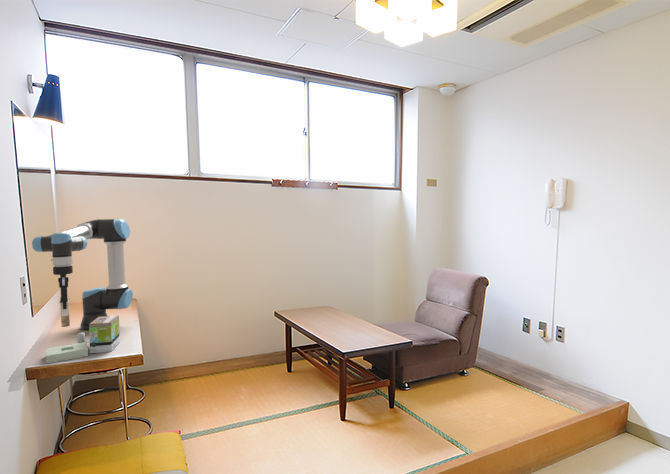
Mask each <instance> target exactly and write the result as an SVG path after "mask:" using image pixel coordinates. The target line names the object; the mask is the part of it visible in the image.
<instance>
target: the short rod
mask: <svg viewBox="0 0 670 474" xmlns="http://www.w3.org/2000/svg"><path fill="white" fill-rule="evenodd" d="M76 337H77V343H83V342H86V332H83V331H82V332H78V333H77V336H76Z"/></svg>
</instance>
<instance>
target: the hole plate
mask: <svg viewBox="0 0 670 474" xmlns="http://www.w3.org/2000/svg"><path fill="white" fill-rule="evenodd" d="M83 356H84V357H88V356H89V347H88V342H87V341H85V342H83V343H78V342H77V343H72V344H67V345H66V344H65V345H61V346H60V345H59V346H54V347H50V348H49V347H48V348H46V353H45V363H46V364H51V363H57V362H63V361H66V360H72V359H79V358H83Z"/></svg>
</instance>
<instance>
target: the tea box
mask: <svg viewBox="0 0 670 474" xmlns="http://www.w3.org/2000/svg"><path fill="white" fill-rule="evenodd" d="M88 331H89V332H88V333H89V337H88V338H89V340H88V342H89V354H99V353H100V354H101V353H109V352H112V351H113V350H114V349H115V347H117V345H119V344H120V340H121V339H120V315H107V316H103V317H98V318H96V319H95V320H94V321H93V322H91V323H90V324H89V330H88Z"/></svg>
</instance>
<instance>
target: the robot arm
mask: <svg viewBox="0 0 670 474" xmlns="http://www.w3.org/2000/svg"><path fill="white" fill-rule="evenodd" d="M130 235H131V230H130V226H129V224H128V222H127V221H126V220H125V219H122V218H121V219H118V218H111V219H110V218H107V219H106V218H105V219H104V218H103V219H102V218H101V219H100V218H97V219H93V220H88V221H86V222H82V223H79V224H77V226H76V227H73V228H70V229H66V230H63V231H59V232H55V233H52V234H50V235H46V236H45V235H44V236H43V235H41V236H36V237H34V238H33V239H32V241H31V245H32V249H33V250H34V251H35V252H39V253H40V252H41V253H46V252H47V253H49V252H52V254H51V255H52V258H51V260H50V261H51V262H52V266H53V267H52V274H53V275H55V276H60V277H58V280H57V282H58V286H59V288H60V297H61V301H60V300H59V301H58V302H59V304H60V303H61V305H60V314H61V313H62V316H68V315H69V316H70V310H69V311H68V299H69V300H70V297H68V298H67V296H68V287H69V277H68V276H67V275H70V274H73V271H74V270H73V254H72V253H74V252H80V251H83V250H85V249H86V248H87V246H88V240H95V239H97V240H98V239H99V240H103V243H104V244H105V245H106V251H107V252H106V254H107V268H108V269H107V273H108V285H107V286H106V287H104V286H102V287H101V286H99V287H94V288H89V289H86V290H84V291H83V292H82V295H81V296H82V297H81V298H82V312H83V314H82V315H83V316H82V319H81V322H80V325H79V326H80V330H82V331H89V324H90V323H91V322H93V321H94V320H95V319H96V318H98V317H103V316H108V314H107V310H123V309H125V310H126V309H127V308H129V307H130V306H131V303H132V302H133V297H134V293H133V290H132V289H130V288H129V285H128V284H127V283H126V272H125V271H126V270H125V252H124V251H125V250H124V249H125V248H124V244H125V243H126V242H127V239H128V238H129V237H130Z"/></svg>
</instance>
